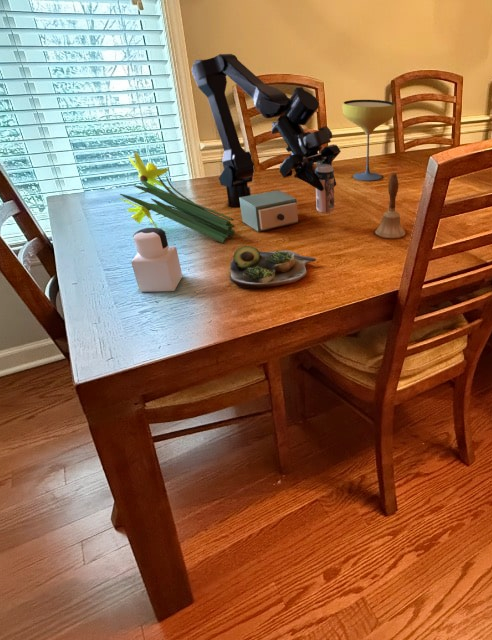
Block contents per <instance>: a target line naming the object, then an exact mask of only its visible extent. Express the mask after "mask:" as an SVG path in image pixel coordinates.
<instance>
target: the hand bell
mask: <svg viewBox="0 0 492 640" xmlns="http://www.w3.org/2000/svg"><path fill="white" fill-rule="evenodd" d="M397 174H398V173H396V172H393V173H392V172H391V174H390V178H389V180H388V185H387V189H388V195H389V202H388V210H387V211H385V212H383V214H382V219H381V221H380V224H379V226H378V227H377V228H376V229H375V230H374V232H375V235H376V236H378V237H380V238H383V239H391V240H392V239H400V238H403V237H405V235H406V230H405V229H404V228H403V226H402V224H401V215H400V213H399V212H398V211H396V197H397V196H398V192H399V179H398V175H397Z"/></svg>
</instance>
